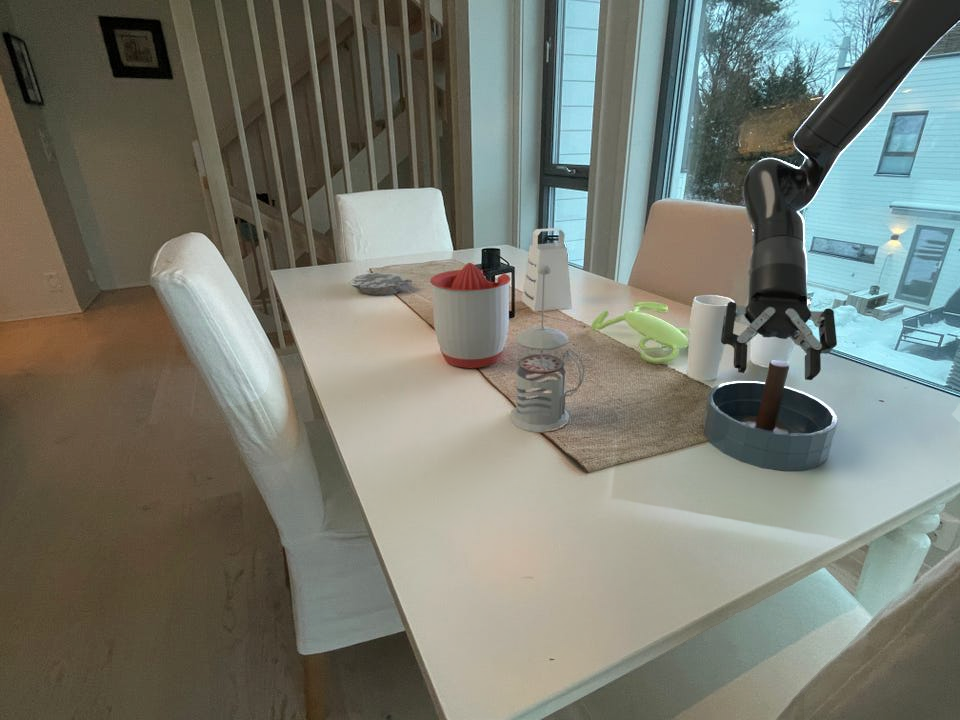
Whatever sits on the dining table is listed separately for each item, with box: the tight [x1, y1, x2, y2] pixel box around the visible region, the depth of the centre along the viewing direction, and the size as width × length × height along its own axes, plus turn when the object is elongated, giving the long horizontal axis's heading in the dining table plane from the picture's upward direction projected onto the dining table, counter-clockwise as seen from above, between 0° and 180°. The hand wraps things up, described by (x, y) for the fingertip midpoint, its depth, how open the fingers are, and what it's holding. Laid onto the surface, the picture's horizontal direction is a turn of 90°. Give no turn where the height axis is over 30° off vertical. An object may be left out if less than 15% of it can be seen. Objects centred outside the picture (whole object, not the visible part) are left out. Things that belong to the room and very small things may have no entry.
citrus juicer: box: [429, 262, 511, 370], centre depth 103 cm, size 16×17×20 cm
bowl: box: [702, 380, 838, 472], centre depth 74 cm, size 16×16×6 cm
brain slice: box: [349, 271, 413, 296], centre depth 156 cm, size 20×17×3 cm
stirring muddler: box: [742, 360, 790, 433], centre depth 73 cm, size 6×6×12 cm
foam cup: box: [749, 298, 812, 369], centre depth 99 cm, size 10×9×13 cm
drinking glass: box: [685, 294, 735, 382], centre depth 93 cm, size 7×7×15 cm
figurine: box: [590, 301, 689, 365], centre depth 113 cm, size 18×27×6 cm
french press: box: [509, 265, 586, 434], centre depth 78 cm, size 10×12×25 cm
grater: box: [521, 227, 573, 313], centre depth 136 cm, size 10×10×20 cm
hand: (775, 374), depth 72 cm, fingers open, 8 cm apart
